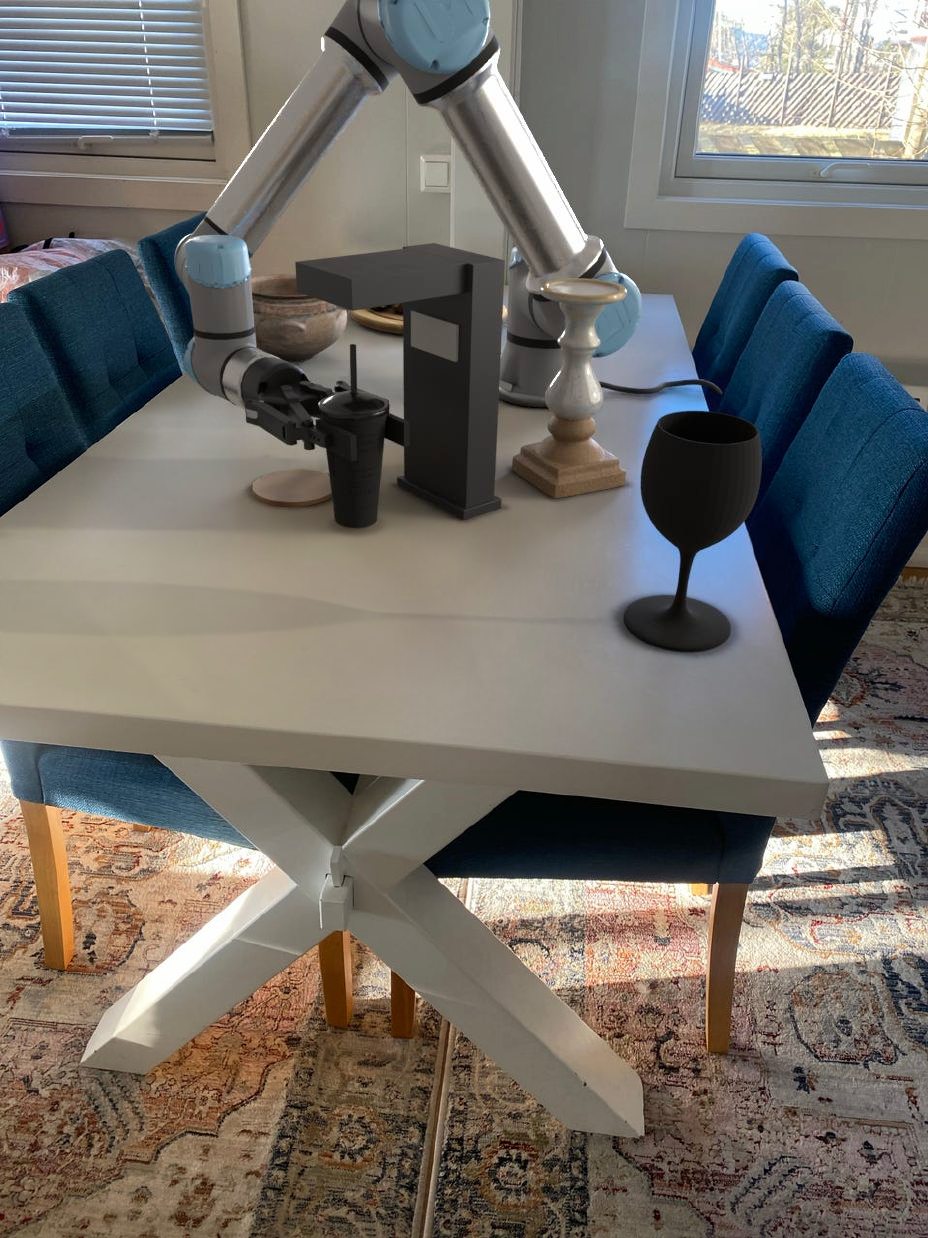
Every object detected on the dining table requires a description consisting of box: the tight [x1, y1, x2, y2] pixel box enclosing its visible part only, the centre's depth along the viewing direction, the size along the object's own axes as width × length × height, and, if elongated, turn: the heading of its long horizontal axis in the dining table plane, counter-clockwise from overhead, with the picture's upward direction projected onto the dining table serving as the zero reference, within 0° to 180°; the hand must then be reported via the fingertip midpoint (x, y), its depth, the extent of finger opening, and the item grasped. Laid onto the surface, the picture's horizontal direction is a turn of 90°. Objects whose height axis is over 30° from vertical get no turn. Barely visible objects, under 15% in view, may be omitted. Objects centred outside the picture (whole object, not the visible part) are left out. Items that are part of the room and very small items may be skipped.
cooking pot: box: [251, 273, 348, 362], centre depth 168 cm, size 25×19×12 cm
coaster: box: [251, 468, 332, 508], centre depth 120 cm, size 10×10×1 cm
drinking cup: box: [318, 343, 391, 529], centre depth 107 cm, size 8×8×20 cm
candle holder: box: [511, 278, 627, 499], centre depth 120 cm, size 11×11×24 cm
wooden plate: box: [349, 303, 508, 335], centre depth 195 cm, size 32×32×8 cm
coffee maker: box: [294, 242, 506, 521], centre depth 109 cm, size 20×13×28 cm, turn 130°
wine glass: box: [623, 410, 763, 653], centre depth 90 cm, size 10×10×20 cm
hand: (380, 441), depth 103 cm, fingers closed on drinking cup, 6 cm apart
